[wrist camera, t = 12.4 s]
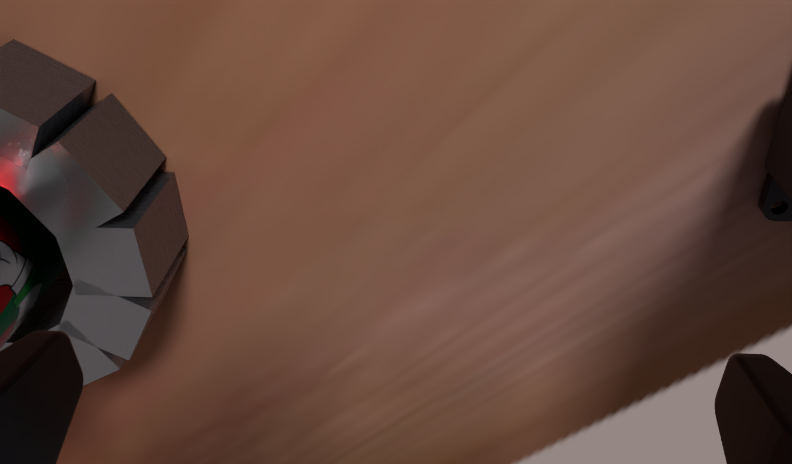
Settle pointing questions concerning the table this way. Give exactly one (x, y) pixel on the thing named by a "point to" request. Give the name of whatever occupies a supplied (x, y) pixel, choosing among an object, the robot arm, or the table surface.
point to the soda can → (23, 262)
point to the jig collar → (89, 206)
